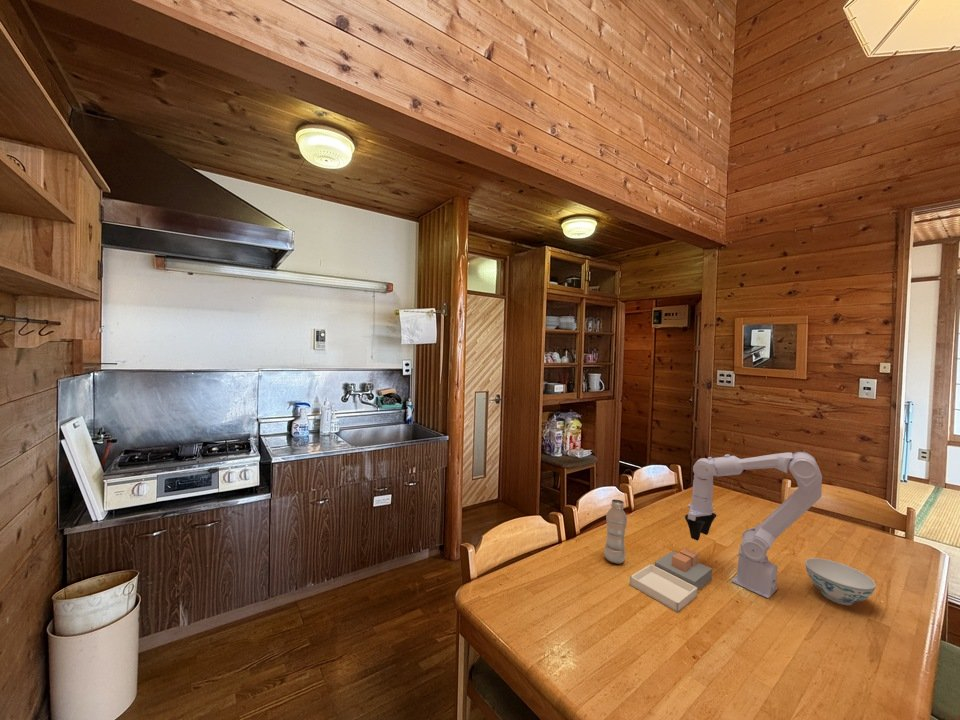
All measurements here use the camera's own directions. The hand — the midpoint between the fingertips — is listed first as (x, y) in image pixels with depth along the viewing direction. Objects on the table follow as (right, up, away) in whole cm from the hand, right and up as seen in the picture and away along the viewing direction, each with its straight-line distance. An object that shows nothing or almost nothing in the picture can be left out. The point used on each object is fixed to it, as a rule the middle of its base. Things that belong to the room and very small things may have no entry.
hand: (699, 536), depth 124 cm
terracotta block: (-10, -6, -7) cm, 14 cm away
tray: (-19, -10, -14) cm, 25 cm away
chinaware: (+33, -12, -13) cm, 37 cm away
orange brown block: (-6, -6, -4) cm, 9 cm away
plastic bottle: (-28, -9, +1) cm, 29 cm away
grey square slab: (-9, -10, -6) cm, 14 cm away
